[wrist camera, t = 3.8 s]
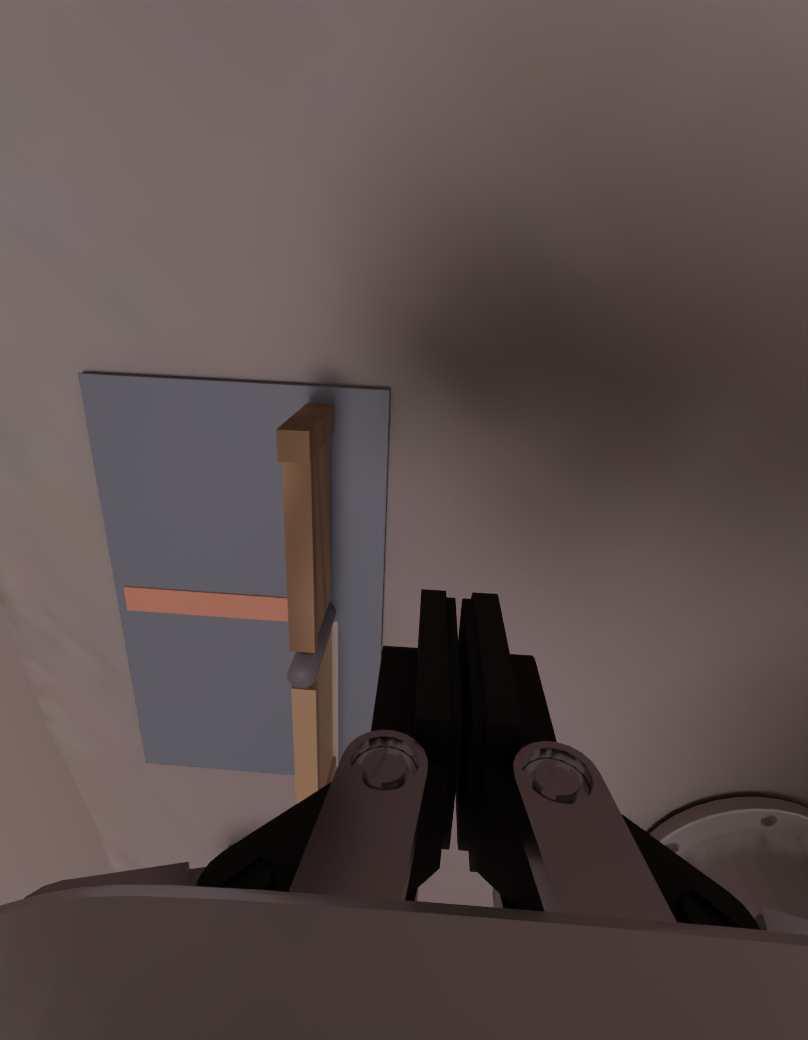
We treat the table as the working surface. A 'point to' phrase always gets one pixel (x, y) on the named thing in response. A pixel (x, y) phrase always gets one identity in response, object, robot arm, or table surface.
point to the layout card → (238, 569)
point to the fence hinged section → (306, 520)
